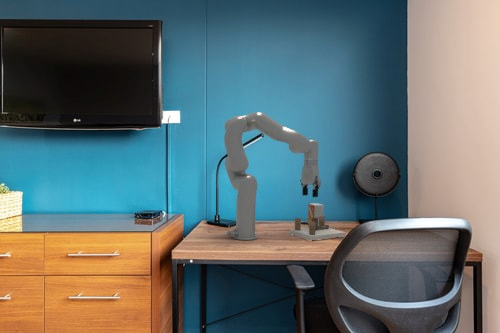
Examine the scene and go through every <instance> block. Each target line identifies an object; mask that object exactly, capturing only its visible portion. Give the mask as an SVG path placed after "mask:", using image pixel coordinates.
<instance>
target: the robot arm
mask: <svg viewBox="0 0 500 333" xmlns="http://www.w3.org/2000/svg"><path fill="white" fill-rule="evenodd" d="M224 130H225V131H224V136H223V143H224V147H225V150H226V154H227V156H226V157H225V159H224V166H225V170H226V173H227V176H228V178H229V181H230V184H231V186H232V188H233V189H234V190H236V191H237V194H236V212H235V216H236V217H235V219H236V220H235V227H234V228H233V229H232V230H227V231H226V235H227V236H229V235H231V236H232V238H233V239H235V240H238V241H253V240H257V239H258V238H259V235H258V234H257V233H256V209H257V208H256V204H257V203H256V199H257V193H258V192H257V191H258V180H257V178H256V177H255V176H254V175H253V174H251V173H250V174H249V173H247V172H246V171H247V170H248V168H249V159H248V157H247V155H246V151H245V147H244V144H243V135H244V133H246V132H251V131H255V130H258V131H259V132H261V133H262V134H264V135H265V136H267V137H268V138H270V139H271V140H274V141H277V142H280V143H281V142H282V143H285V144H288V150H289V151H290V152H291V153H293V154H303V166H302V170H301V177H300V180H299V181H300V185H301V188H302V193H301V194H302V196H309V188H308V186H309V185H311V186H312V198H318V197H319V190H320V187H321V185H322V181H321V179H320V169H319V141H318V140H317V139H309V138H308V137H306V136H304V135H303V134H302V133H300V132H298V131H297V130H294V129H291V128H289V127H286V126H284V125H283V124H281V123H279V122H278V121H276V120H275V119H273V118H272V117H270V116H268V114H265V113H264V112H261V111H255V112H253V113H252V112H251V113H249V114H246V115H236V116H232V117H230V118H228V119H227V120H226V121H225V123H224Z"/></svg>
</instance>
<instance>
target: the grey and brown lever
mask: <svg viewBox="0 0 500 333" xmlns="http://www.w3.org/2000/svg"><path fill="white" fill-rule="evenodd" d="M312 222H316V226H315V230H318V229H329V228H330V224H325V225H324V226H318V218H312Z"/></svg>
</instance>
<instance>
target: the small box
mask: <svg viewBox="0 0 500 333" xmlns="http://www.w3.org/2000/svg"><path fill="white" fill-rule="evenodd" d="M307 213H308V214H307V225H308V224H309V222H312V218H318V226H319V216H325V215H324V214H325V204H321V203H318V202H315V203H314V202H313V203H308V210H307Z"/></svg>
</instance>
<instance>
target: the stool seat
mask: <svg viewBox="0 0 500 333" xmlns="http://www.w3.org/2000/svg"><path fill="white" fill-rule="evenodd" d="M325 217H326V216H325V215H324V216H319V226H324V225H326V222H325V220H326V218H325ZM301 225H302V218H301V217H295V218H294V228H290V229H289V235H291V234H293V235H292V236H294V235H296V236H295V237H297V236H299V237H298V238H300V237H302V238H305V239H308V240H317V239H325V238H332V237H340V236H345V235H346V232H345V231H343V230H339V229H334V228H330V227H329V229H318V230H315V226H316V222H309V225H308V226H309V227H301ZM302 238H301V239H302ZM305 239H304V240H305ZM308 240H307V241H308Z"/></svg>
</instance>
